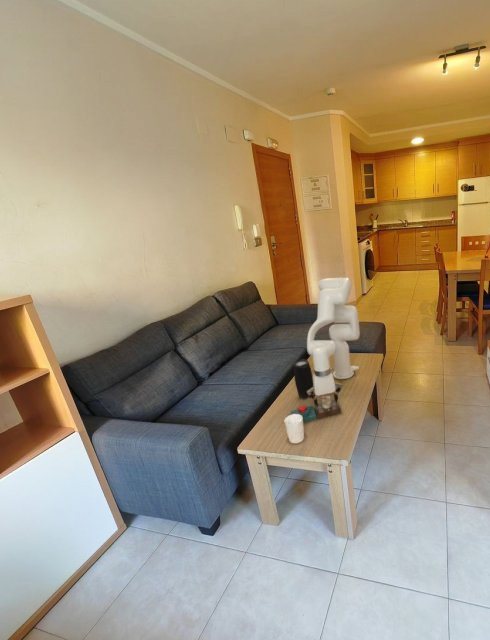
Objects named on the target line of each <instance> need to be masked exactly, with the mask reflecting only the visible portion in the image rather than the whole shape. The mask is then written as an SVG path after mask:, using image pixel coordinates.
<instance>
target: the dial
mask: <svg viewBox="0 0 490 640" xmlns="http://www.w3.org/2000/svg"><path fill="white" fill-rule="evenodd" d="M331 400H332V398H331V396H330V395H322V397H321V402H322V406H323V408H330V407H331Z"/></svg>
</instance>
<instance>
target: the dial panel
mask: <svg viewBox="0 0 490 640" xmlns="http://www.w3.org/2000/svg"><path fill="white" fill-rule="evenodd" d="M313 405H314V411H315V414H316V417H317V418H318V420H321V419H323V418H324V419H325V418H328V417H332V416H336V415H341V414H342V413H341V411H342V410H341V407H340V405H339V403H338V401H337V402H336V401H335V399H334V398H333V399H331V407H330V408H323V406H322V401H321V402H318V407H317V406H316V405H315V404H314V403H313Z"/></svg>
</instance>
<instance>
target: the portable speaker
mask: <svg viewBox="0 0 490 640" xmlns="http://www.w3.org/2000/svg"><path fill="white" fill-rule="evenodd" d="M293 376H294V382H295V383H294V384H295V387H296V391H297V394H298V397H299V398H300V399H302V400H303V399H306V398H308V397H310V396H309V395H308V394H307V391H308V390H309V389H311V388H312V387H313V372H312V367H311V365H310V362H309V360H308V359H303V358H301V359H299V360H298V361H294V362H293ZM311 394H314V391H312V392H311Z"/></svg>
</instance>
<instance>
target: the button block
mask: <svg viewBox="0 0 490 640" xmlns="http://www.w3.org/2000/svg"><path fill="white" fill-rule="evenodd" d="M305 406H306V405H305ZM292 414H300V415H301V416H302V417H303V424H304V423H308V422H312V421H315V420H317V413H316V410H315V407H314V406H313V405H310V406H306V411H305V412H303V413H301V412H299V407H297V408H296V409H293V410H290V415H292Z"/></svg>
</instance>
